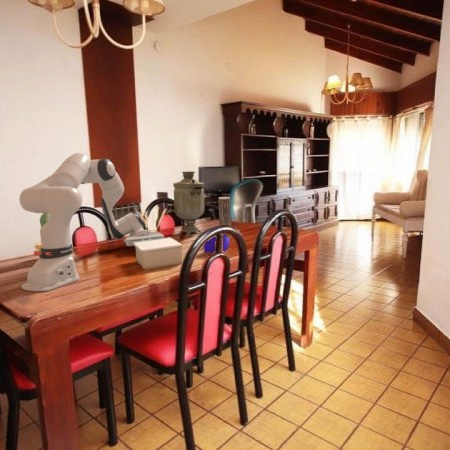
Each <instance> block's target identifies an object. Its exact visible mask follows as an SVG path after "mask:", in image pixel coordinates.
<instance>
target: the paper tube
mask: <svg viewBox="0 0 450 450" xmlns="http://www.w3.org/2000/svg"><path fill="white" fill-rule="evenodd" d="M231 214H232V213H231V197H230V196H219V197H218V217H219V219H218V220H219V226H220V225H229V226H231V227H232V221H231V220H232V219H231ZM226 236H227V238H229V240H231V239H232V235H231V236H230V235H226Z"/></svg>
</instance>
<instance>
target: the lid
mask: <svg viewBox="0 0 450 450" xmlns="http://www.w3.org/2000/svg"><path fill="white" fill-rule="evenodd" d="M132 243H133V245H134V247H135V249H136V248H138V249H139V250H140V251H141V252H149V251H156V250H163V249H170V248H177V247H182V248H183V244H182V243H180V242H179V241H177V240H176V239H173V238H172V236H171V237H170V236H168V237H164V238H159V239H152V240H144V241H136V242H132Z"/></svg>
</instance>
